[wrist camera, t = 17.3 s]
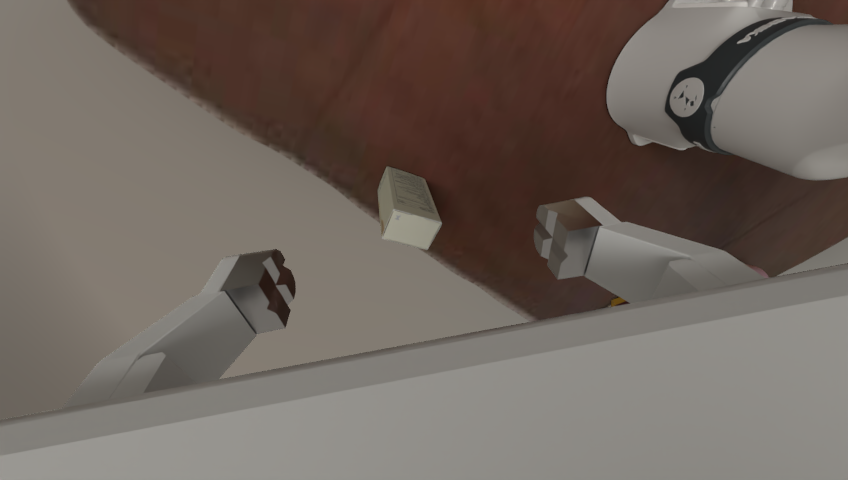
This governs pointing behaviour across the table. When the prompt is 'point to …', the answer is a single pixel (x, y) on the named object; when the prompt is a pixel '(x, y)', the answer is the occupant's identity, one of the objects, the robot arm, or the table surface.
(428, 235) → the skincare box
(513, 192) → the table surface
